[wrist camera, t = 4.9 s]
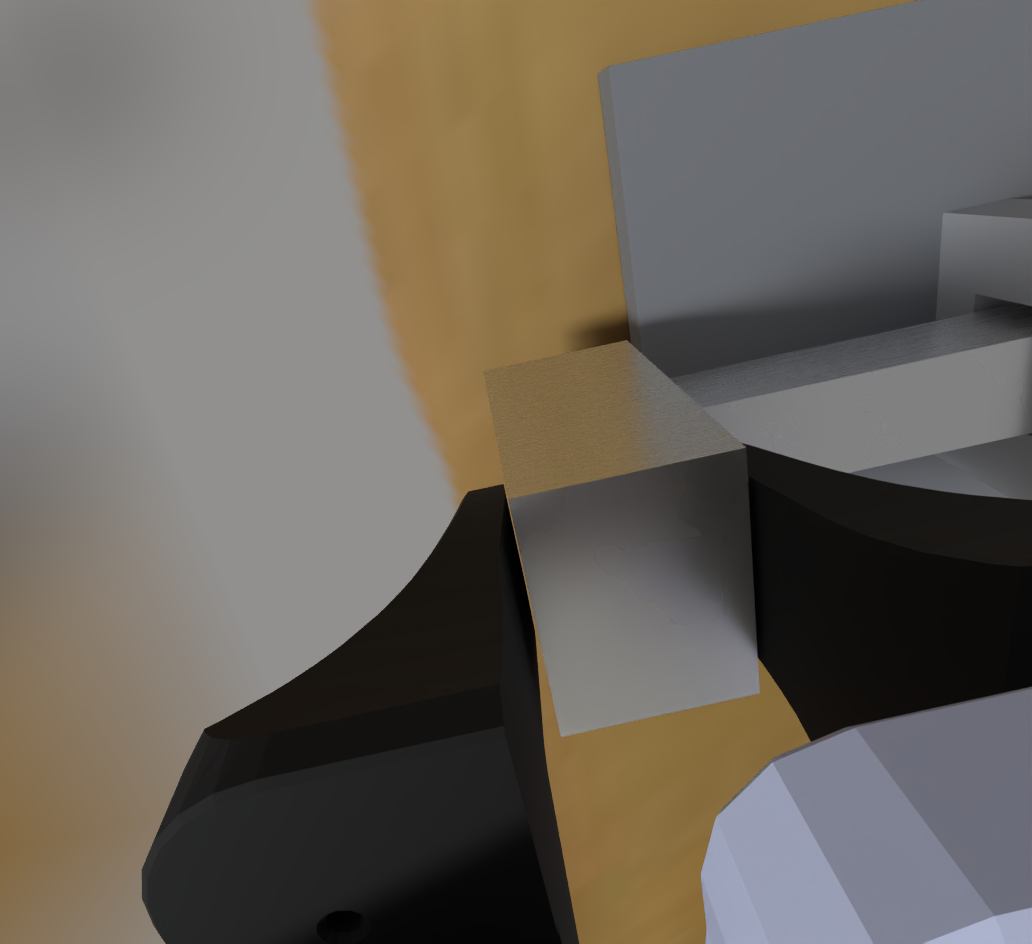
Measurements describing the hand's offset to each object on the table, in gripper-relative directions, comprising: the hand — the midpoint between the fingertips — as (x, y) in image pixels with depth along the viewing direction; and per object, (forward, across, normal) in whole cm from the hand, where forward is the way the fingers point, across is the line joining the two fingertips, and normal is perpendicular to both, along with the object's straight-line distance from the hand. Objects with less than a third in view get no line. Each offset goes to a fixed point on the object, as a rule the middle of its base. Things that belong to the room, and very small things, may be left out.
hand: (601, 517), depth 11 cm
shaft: (+3, -5, 0) cm, 6 cm away
